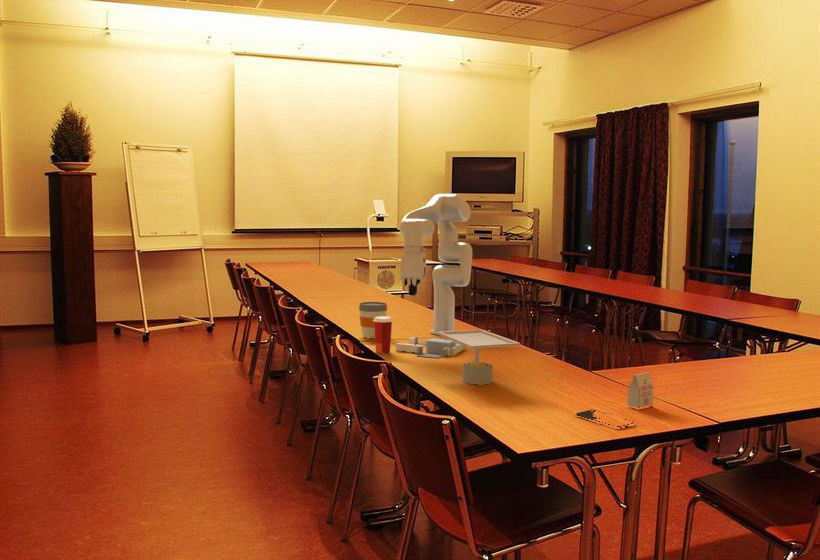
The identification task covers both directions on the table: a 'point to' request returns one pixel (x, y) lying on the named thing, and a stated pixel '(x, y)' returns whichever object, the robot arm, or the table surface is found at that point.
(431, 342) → the block
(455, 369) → the table surface
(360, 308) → the reusable coffee cup
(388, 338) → the paper cup
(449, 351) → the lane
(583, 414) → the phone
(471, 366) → the solar panel model
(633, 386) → the grey tall gabled block
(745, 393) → the table surface
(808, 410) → the table surface
